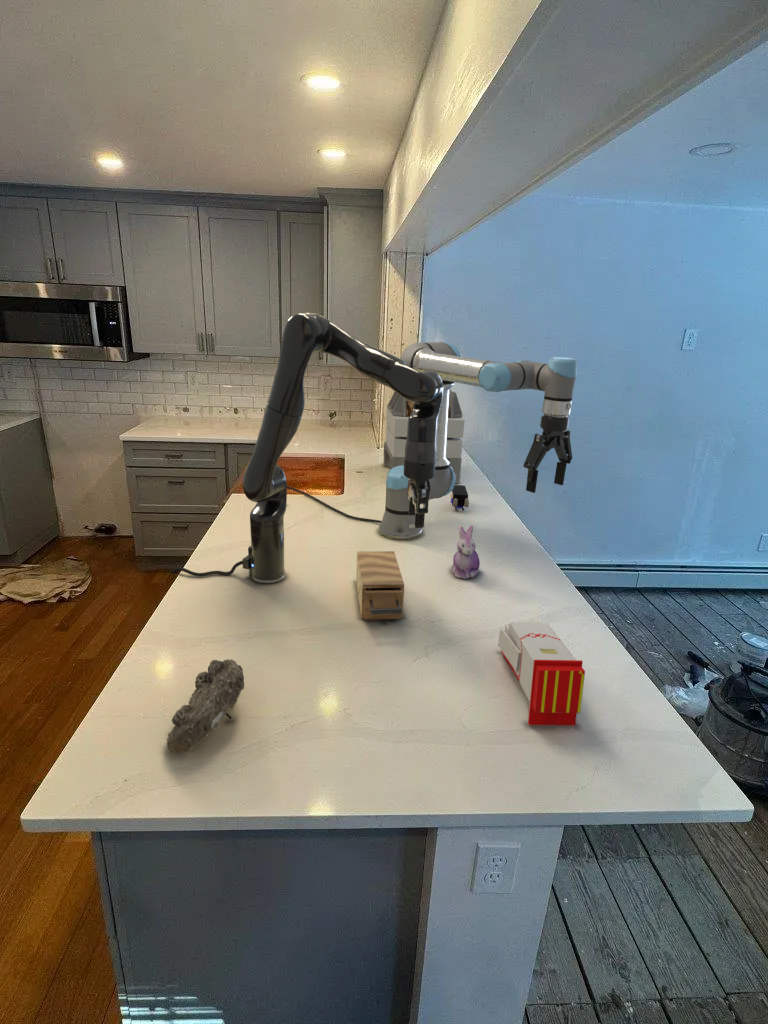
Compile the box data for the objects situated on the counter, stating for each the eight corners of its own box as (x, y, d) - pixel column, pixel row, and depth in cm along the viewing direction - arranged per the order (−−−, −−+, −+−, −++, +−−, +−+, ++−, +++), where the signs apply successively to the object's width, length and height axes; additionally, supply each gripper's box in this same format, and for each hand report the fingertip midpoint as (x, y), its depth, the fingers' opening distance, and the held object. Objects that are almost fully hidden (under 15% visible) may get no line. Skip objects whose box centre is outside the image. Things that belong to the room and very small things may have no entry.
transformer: (382, 463, 289) (386, 382, 275) (445, 464, 293) (451, 384, 279) (390, 482, 257) (394, 392, 243) (460, 483, 261) (468, 394, 247)
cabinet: (402, 617, 146) (404, 584, 143) (361, 618, 145) (362, 584, 141) (392, 581, 165) (394, 551, 162) (356, 581, 164) (357, 551, 160)
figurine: (462, 582, 166) (466, 535, 161) (443, 568, 174) (447, 522, 169) (488, 576, 170) (493, 530, 165) (468, 563, 179) (472, 518, 173)
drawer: (404, 631, 138) (406, 603, 135) (366, 632, 137) (367, 604, 134) (392, 584, 161) (393, 559, 159) (359, 584, 160) (359, 560, 157)
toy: (544, 607, 134) (594, 667, 105) (539, 659, 137) (586, 732, 108) (493, 606, 134) (529, 666, 105) (489, 658, 137) (523, 731, 107)
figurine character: (468, 516, 224) (463, 500, 237) (471, 498, 221) (465, 483, 234) (452, 515, 224) (447, 499, 237) (453, 498, 220) (449, 482, 234)
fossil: (192, 660, 117) (244, 628, 112) (224, 691, 120) (276, 661, 115) (142, 746, 98) (202, 712, 93) (182, 779, 101) (242, 748, 96)
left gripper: (399, 450, 141) (396, 511, 147) (409, 465, 128) (405, 531, 133) (429, 450, 142) (425, 511, 148) (442, 465, 129) (436, 531, 134)
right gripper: (539, 421, 148) (529, 498, 155) (592, 413, 163) (580, 484, 170) (516, 416, 153) (507, 491, 160) (569, 409, 168) (558, 478, 175)
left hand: (415, 520), depth 141 cm, fingers open, 8 cm apart
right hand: (544, 487), depth 165 cm, fingers open, 13 cm apart
